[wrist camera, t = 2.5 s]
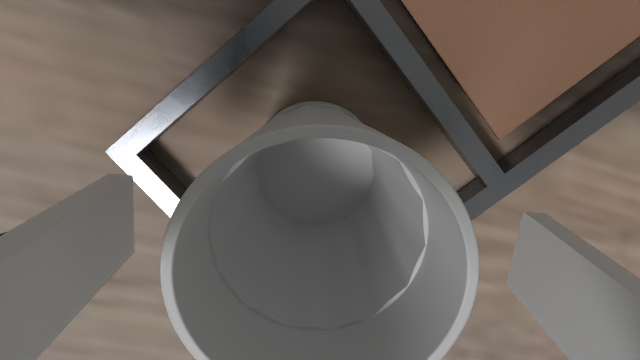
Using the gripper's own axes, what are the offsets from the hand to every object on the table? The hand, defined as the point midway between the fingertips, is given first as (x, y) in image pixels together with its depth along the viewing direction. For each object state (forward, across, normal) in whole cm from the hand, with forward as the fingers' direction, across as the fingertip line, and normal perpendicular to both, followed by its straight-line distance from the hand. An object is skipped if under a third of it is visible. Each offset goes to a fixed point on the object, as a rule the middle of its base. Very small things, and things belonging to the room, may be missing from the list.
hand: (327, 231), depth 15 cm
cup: (+8, 0, 0) cm, 8 cm away
